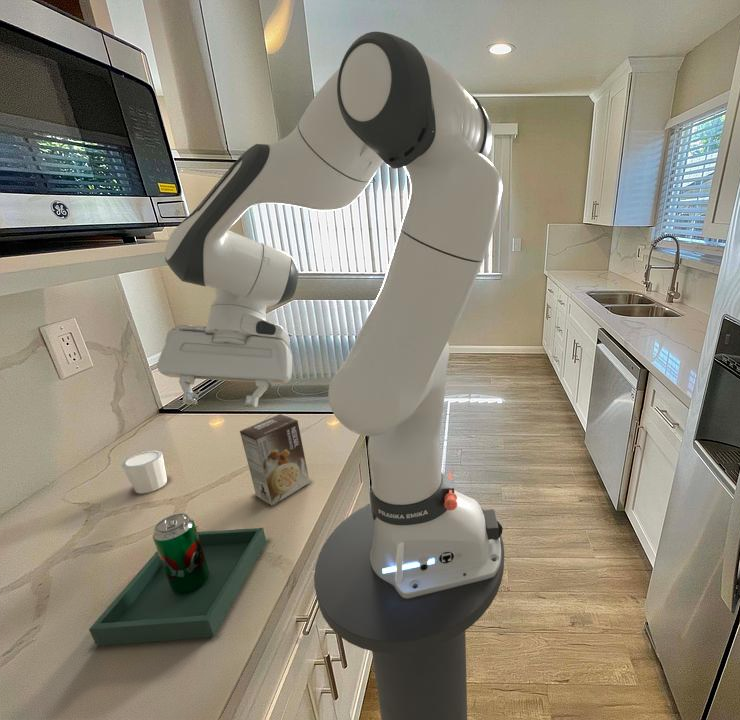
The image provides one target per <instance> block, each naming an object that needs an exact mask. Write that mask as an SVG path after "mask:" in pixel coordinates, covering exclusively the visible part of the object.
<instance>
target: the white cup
mask: <svg viewBox="0 0 740 720" xmlns="http://www.w3.org/2000/svg"><path fill="white" fill-rule="evenodd" d="M165 466H166V465H165V461H164V456H163V452H162V451H160V450H147V451H143V452H139V453H136V454H134V455H132V456H130V457H127V458H126V459H125V460H124V461H122V464H121V467H122V469H123V471H124V473H125V475H126V477H127V478H128V480H129V482H130V485H131V486H132V489H133V490H134V492H135V493H136V494H148V493H151V492H155V491H157V490H159V489H160V488H163V487H164V486H165V485H166V484H167V483H168V478H167V473H166V467H165Z"/></svg>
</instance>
